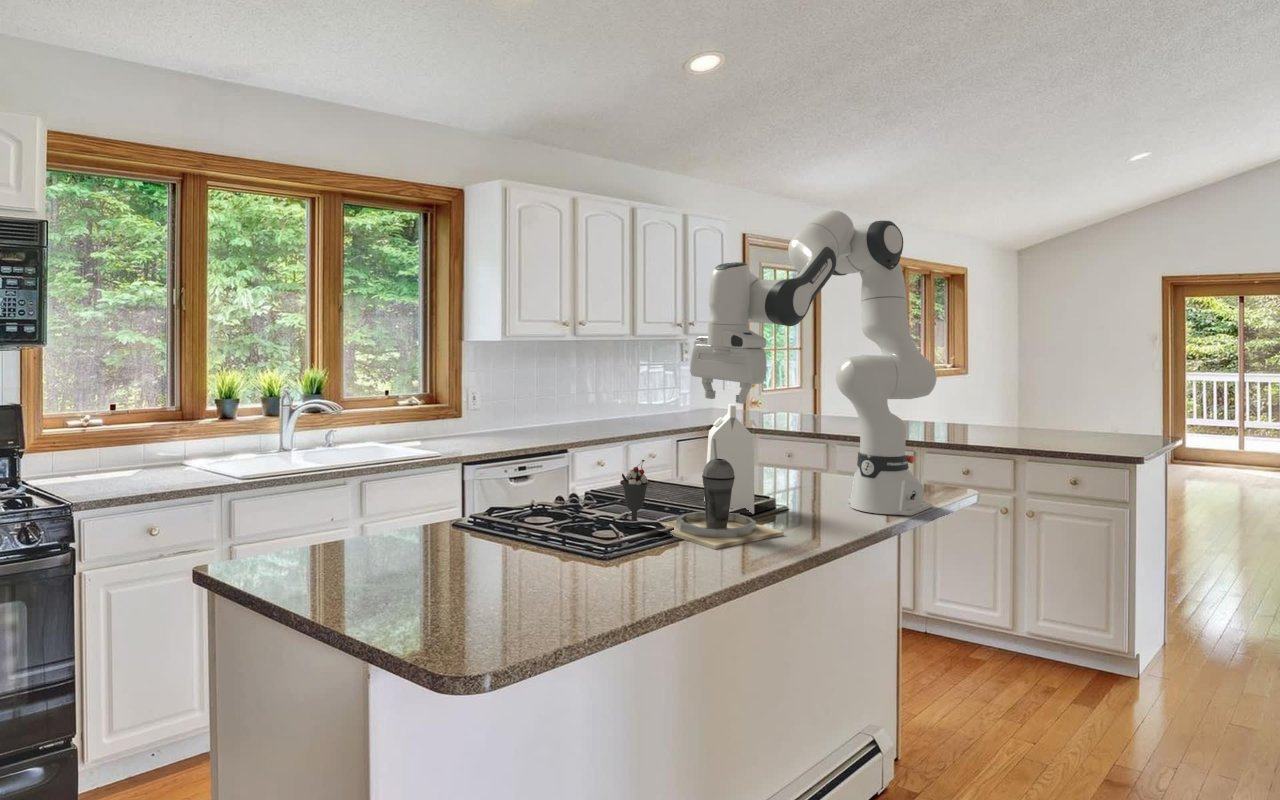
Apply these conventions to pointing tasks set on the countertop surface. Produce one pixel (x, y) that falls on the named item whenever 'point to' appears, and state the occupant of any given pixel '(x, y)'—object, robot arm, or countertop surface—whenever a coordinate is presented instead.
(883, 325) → the robot arm
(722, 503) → the beverage cup
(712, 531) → the ring seat
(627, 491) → the sundae
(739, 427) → the milk
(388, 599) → the countertop surface
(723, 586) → the countertop surface
